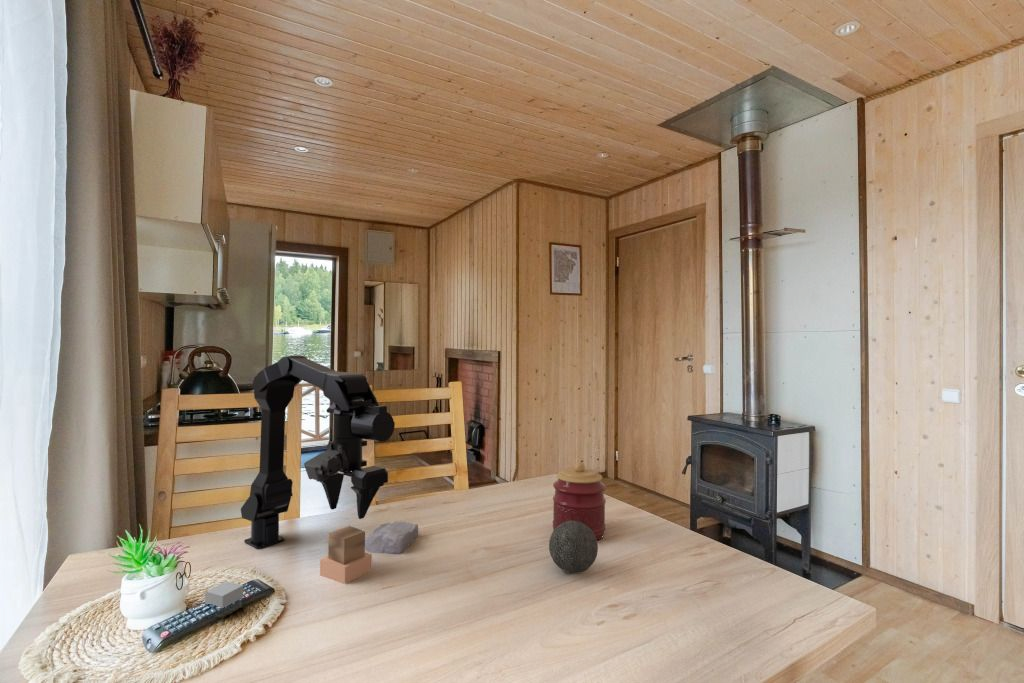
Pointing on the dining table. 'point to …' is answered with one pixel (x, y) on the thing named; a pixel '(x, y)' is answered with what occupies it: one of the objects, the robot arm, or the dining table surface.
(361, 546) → the walnut cube
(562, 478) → the canister
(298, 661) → the dining table surface
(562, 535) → the decorative ball
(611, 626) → the dining table surface
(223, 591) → the grey block
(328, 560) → the terracotta block
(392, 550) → the stone block
